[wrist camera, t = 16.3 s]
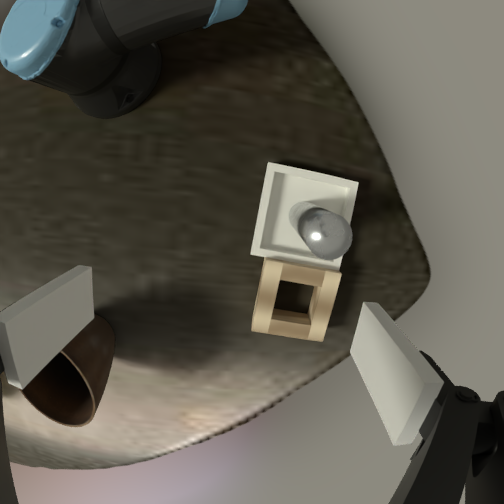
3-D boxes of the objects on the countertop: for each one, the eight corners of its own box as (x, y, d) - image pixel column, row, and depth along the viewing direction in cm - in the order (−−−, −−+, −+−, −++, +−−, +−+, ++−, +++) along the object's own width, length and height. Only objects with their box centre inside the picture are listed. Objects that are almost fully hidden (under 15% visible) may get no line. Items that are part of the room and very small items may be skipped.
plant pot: (115, 385, 50) (78, 442, 34) (52, 335, 48) (1, 378, 32) (150, 330, 47) (111, 389, 31) (78, 274, 45) (17, 310, 30)
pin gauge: (291, 198, 41) (312, 208, 26) (321, 204, 41) (356, 218, 26) (285, 228, 42) (301, 255, 26) (314, 234, 42) (346, 263, 27)
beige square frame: (265, 253, 44) (266, 260, 40) (334, 265, 44) (341, 273, 40) (252, 318, 46) (251, 330, 42) (317, 329, 46) (322, 341, 42)
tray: (267, 163, 41) (268, 162, 39) (353, 182, 41) (358, 182, 39) (251, 250, 44) (250, 254, 41) (334, 265, 44) (338, 270, 41)
